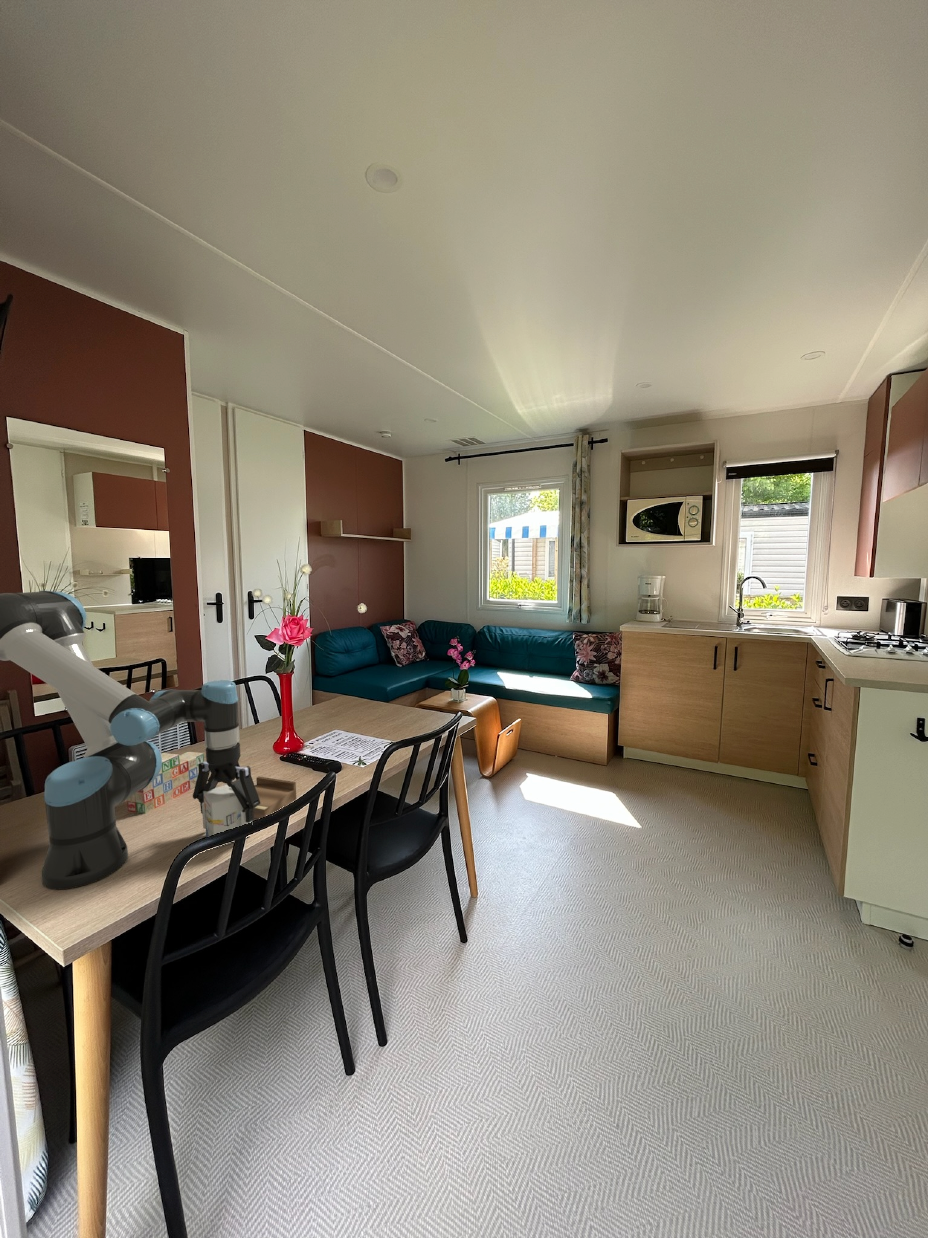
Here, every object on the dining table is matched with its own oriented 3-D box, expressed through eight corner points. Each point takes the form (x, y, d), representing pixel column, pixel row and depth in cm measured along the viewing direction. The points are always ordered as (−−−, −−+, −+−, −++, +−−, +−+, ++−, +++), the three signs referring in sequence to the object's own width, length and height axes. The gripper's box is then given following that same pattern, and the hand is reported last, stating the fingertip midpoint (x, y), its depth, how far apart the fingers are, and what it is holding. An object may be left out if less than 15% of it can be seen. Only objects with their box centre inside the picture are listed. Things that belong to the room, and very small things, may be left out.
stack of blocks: (190, 779, 154) (187, 741, 153) (206, 781, 153) (204, 743, 152) (127, 811, 134) (123, 768, 133) (144, 814, 132) (141, 771, 131)
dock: (264, 820, 128) (264, 802, 128) (225, 813, 132) (224, 795, 132) (296, 798, 141) (295, 782, 140) (259, 792, 145) (258, 776, 144)
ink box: (205, 835, 121) (202, 790, 120) (240, 823, 127) (238, 780, 126) (213, 850, 115) (210, 802, 114) (251, 837, 120) (248, 792, 119)
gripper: (273, 744, 118) (277, 829, 121) (197, 734, 126) (202, 815, 128) (251, 755, 111) (255, 846, 114) (172, 744, 119) (178, 829, 121)
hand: (227, 829), depth 121 cm, fingers closed on ink box, 11 cm apart
